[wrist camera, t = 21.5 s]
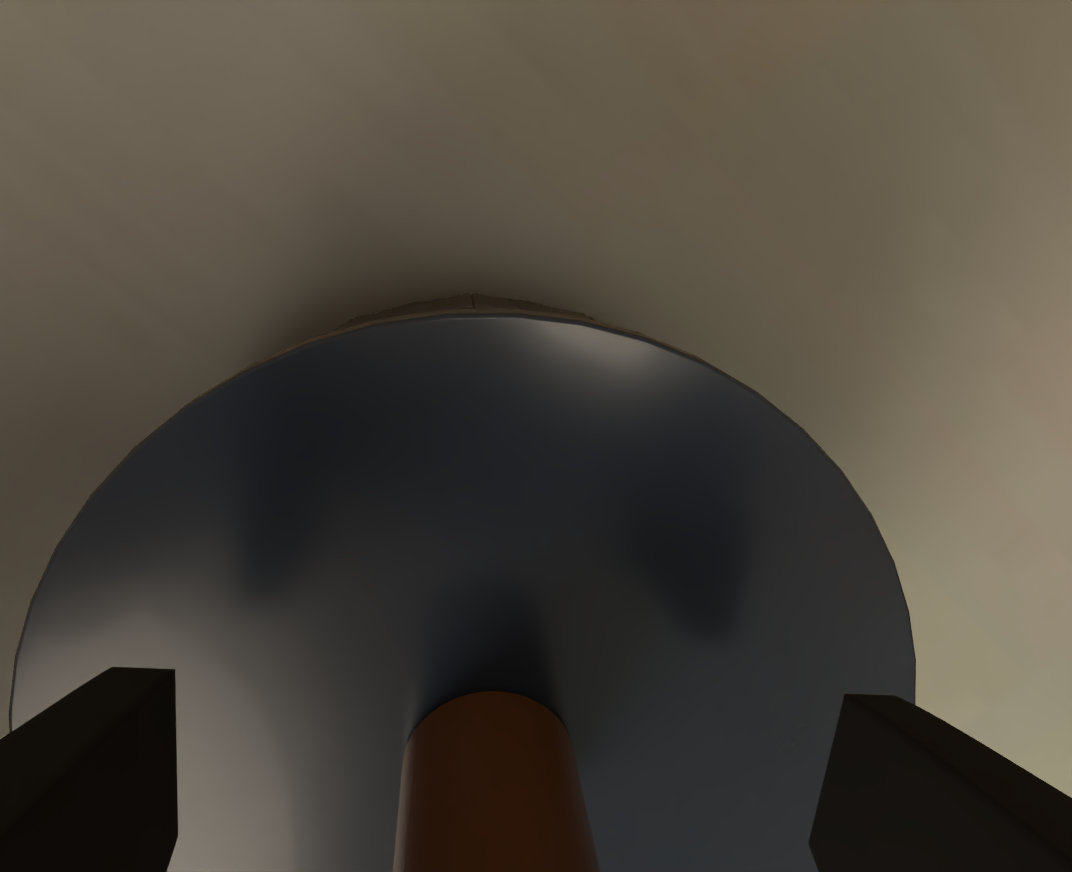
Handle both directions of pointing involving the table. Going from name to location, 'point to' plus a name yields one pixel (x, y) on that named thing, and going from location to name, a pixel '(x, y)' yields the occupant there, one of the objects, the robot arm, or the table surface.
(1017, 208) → the table surface
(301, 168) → the table surface
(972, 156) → the table surface
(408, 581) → the pot lid
